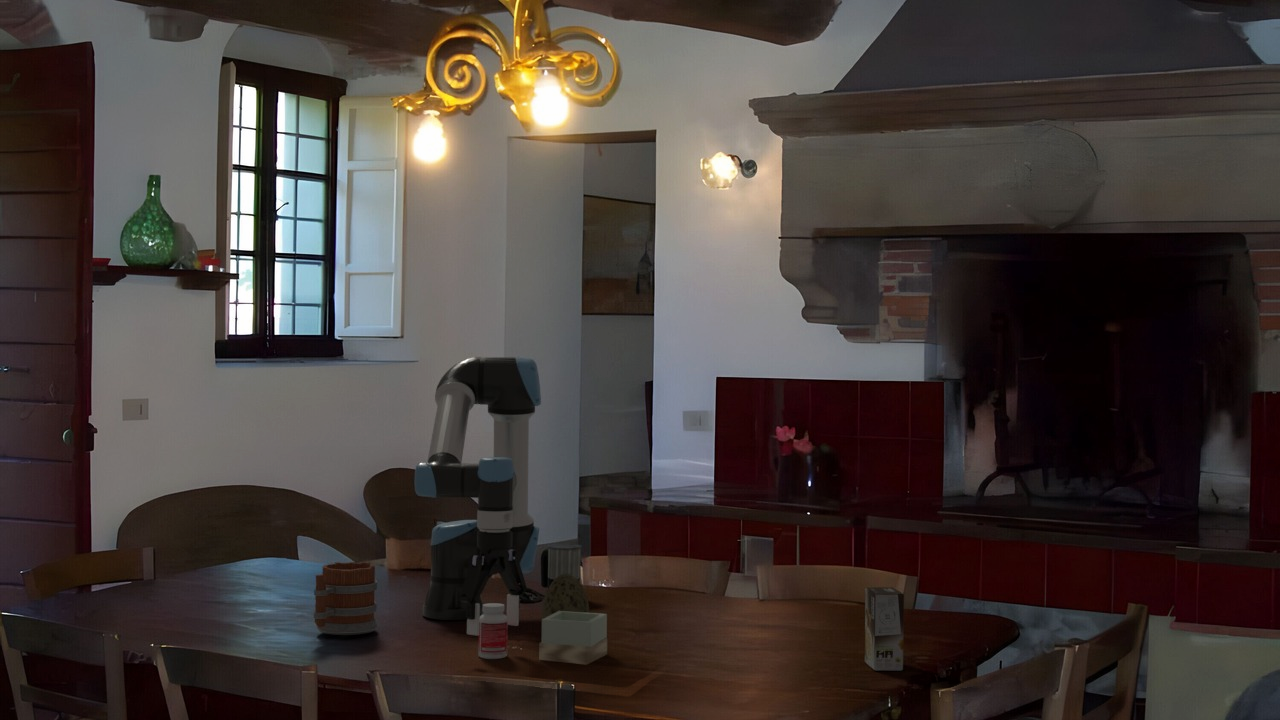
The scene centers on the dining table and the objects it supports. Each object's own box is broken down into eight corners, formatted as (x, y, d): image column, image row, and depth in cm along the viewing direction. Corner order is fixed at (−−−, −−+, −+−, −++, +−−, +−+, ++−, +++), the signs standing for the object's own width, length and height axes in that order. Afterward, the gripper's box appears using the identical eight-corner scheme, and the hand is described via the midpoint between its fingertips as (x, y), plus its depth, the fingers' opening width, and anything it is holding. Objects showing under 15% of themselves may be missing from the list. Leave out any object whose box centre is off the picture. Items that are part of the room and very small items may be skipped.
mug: (389, 627, 316) (391, 563, 316) (342, 641, 298) (343, 574, 298) (340, 621, 321) (341, 559, 321) (290, 635, 303) (291, 569, 303)
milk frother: (587, 600, 356) (588, 545, 357) (552, 609, 343) (553, 551, 343) (545, 595, 364) (546, 540, 364) (509, 603, 351) (510, 546, 351)
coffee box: (904, 671, 278) (905, 593, 278) (874, 671, 277) (875, 593, 277) (892, 661, 287) (893, 586, 287) (862, 661, 286) (864, 586, 287)
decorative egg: (570, 646, 297) (571, 578, 297) (531, 640, 303) (532, 574, 303) (597, 638, 306) (598, 572, 306) (559, 632, 312) (560, 568, 312)
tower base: (538, 661, 283) (539, 642, 283) (560, 651, 293) (560, 633, 293) (586, 666, 279) (586, 647, 279) (606, 656, 289) (607, 637, 289)
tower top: (541, 643, 283) (541, 619, 283) (558, 633, 293) (559, 610, 293) (591, 646, 280) (591, 622, 280) (606, 636, 290) (606, 613, 290)
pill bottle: (512, 657, 284) (513, 605, 284) (486, 661, 281) (487, 608, 281) (498, 652, 289) (499, 601, 289) (473, 655, 286) (474, 603, 286)
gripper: (471, 536, 273) (469, 641, 272) (543, 526, 294) (541, 623, 294) (443, 533, 277) (441, 636, 276) (516, 523, 298) (514, 619, 298)
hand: (493, 629), depth 285 cm, fingers open, 13 cm apart
